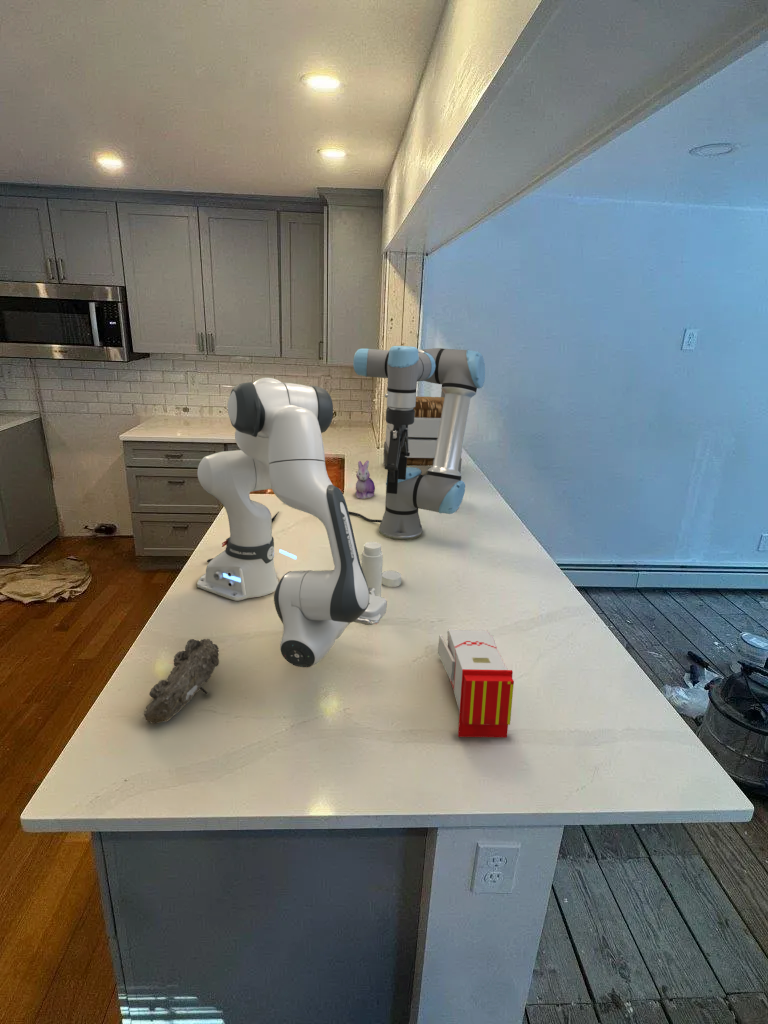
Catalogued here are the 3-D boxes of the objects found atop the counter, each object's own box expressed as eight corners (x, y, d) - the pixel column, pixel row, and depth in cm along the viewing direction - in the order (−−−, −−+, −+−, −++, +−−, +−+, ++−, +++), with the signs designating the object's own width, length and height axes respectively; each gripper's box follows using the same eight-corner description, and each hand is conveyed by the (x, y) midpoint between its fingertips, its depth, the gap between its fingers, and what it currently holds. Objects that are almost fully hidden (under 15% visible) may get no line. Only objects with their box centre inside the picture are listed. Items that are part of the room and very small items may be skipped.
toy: (488, 613, 130) (523, 677, 101) (484, 667, 133) (517, 744, 104) (435, 612, 130) (455, 676, 101) (432, 666, 133) (451, 743, 103)
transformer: (382, 463, 289) (386, 382, 275) (445, 464, 293) (451, 384, 279) (390, 482, 257) (394, 392, 243) (460, 483, 261) (468, 394, 247)
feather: (286, 506, 225) (288, 502, 225) (268, 529, 199) (271, 525, 198) (282, 503, 225) (284, 499, 225) (264, 526, 199) (267, 522, 198)
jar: (359, 604, 151) (361, 540, 145) (379, 604, 152) (382, 540, 145) (360, 615, 146) (362, 549, 140) (380, 615, 147) (384, 549, 140)
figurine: (359, 500, 232) (360, 465, 227) (349, 493, 240) (350, 458, 235) (380, 498, 236) (381, 463, 231) (369, 490, 244) (370, 457, 239)
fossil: (172, 641, 124) (220, 609, 119) (203, 670, 127) (251, 640, 122) (121, 717, 104) (176, 683, 99) (159, 749, 107) (214, 718, 102)
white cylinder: (405, 583, 164) (405, 576, 163) (389, 588, 161) (389, 581, 160) (392, 576, 168) (393, 568, 167) (377, 580, 165) (377, 573, 164)
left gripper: (376, 612, 117) (396, 583, 129) (287, 592, 123) (314, 566, 135) (375, 638, 119) (394, 607, 132) (287, 618, 125) (314, 590, 137)
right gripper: (395, 400, 160) (391, 472, 167) (376, 414, 137) (373, 498, 144) (421, 402, 158) (416, 475, 166) (407, 417, 135) (402, 501, 143)
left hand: (353, 586), depth 133 cm, fingers open, 8 cm apart
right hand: (396, 486), depth 155 cm, fingers open, 13 cm apart
